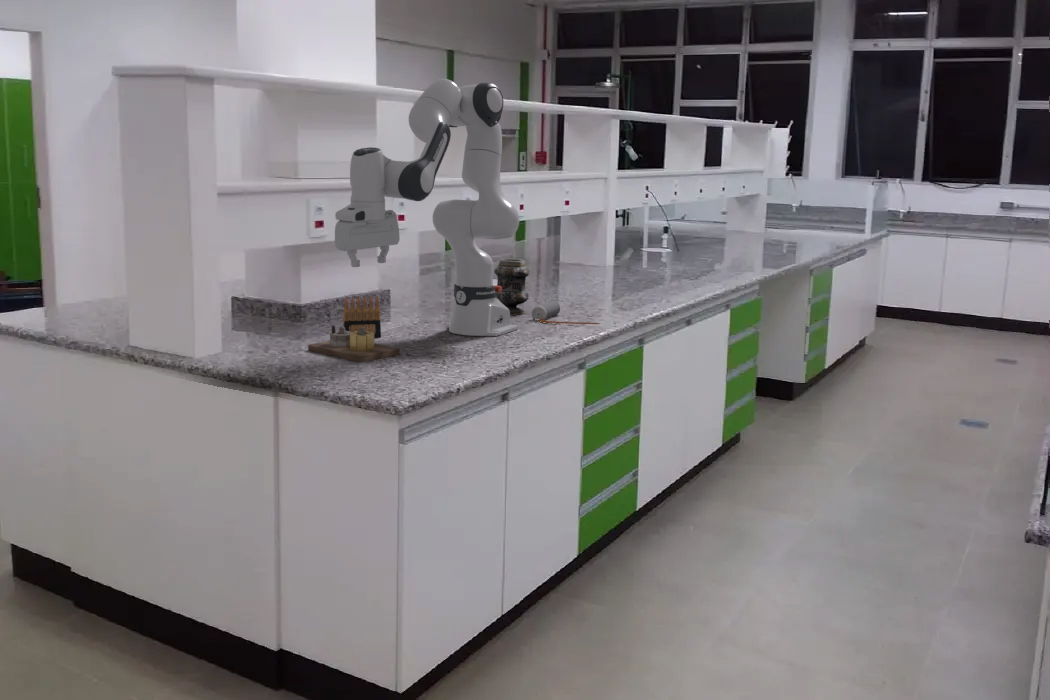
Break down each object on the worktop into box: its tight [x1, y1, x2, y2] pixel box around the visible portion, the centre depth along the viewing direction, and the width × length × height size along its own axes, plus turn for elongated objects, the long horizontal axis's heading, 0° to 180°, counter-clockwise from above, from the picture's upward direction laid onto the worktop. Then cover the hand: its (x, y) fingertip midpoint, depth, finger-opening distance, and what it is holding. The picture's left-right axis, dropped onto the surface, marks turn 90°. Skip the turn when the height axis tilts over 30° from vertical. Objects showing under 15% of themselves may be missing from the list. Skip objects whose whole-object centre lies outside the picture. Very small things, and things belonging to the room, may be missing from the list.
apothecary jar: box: [493, 257, 530, 315], centre depth 316 cm, size 12×12×18 cm
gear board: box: [307, 325, 401, 363], centre depth 248 cm, size 14×20×7 cm
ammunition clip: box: [342, 295, 382, 339], centre depth 266 cm, size 11×2×12 cm, turn 110°
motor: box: [531, 300, 601, 325], centre depth 308 cm, size 23×22×5 cm
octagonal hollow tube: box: [350, 331, 375, 351], centre depth 246 cm, size 6×6×4 cm
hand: (368, 264), depth 247 cm, fingers open, 8 cm apart
